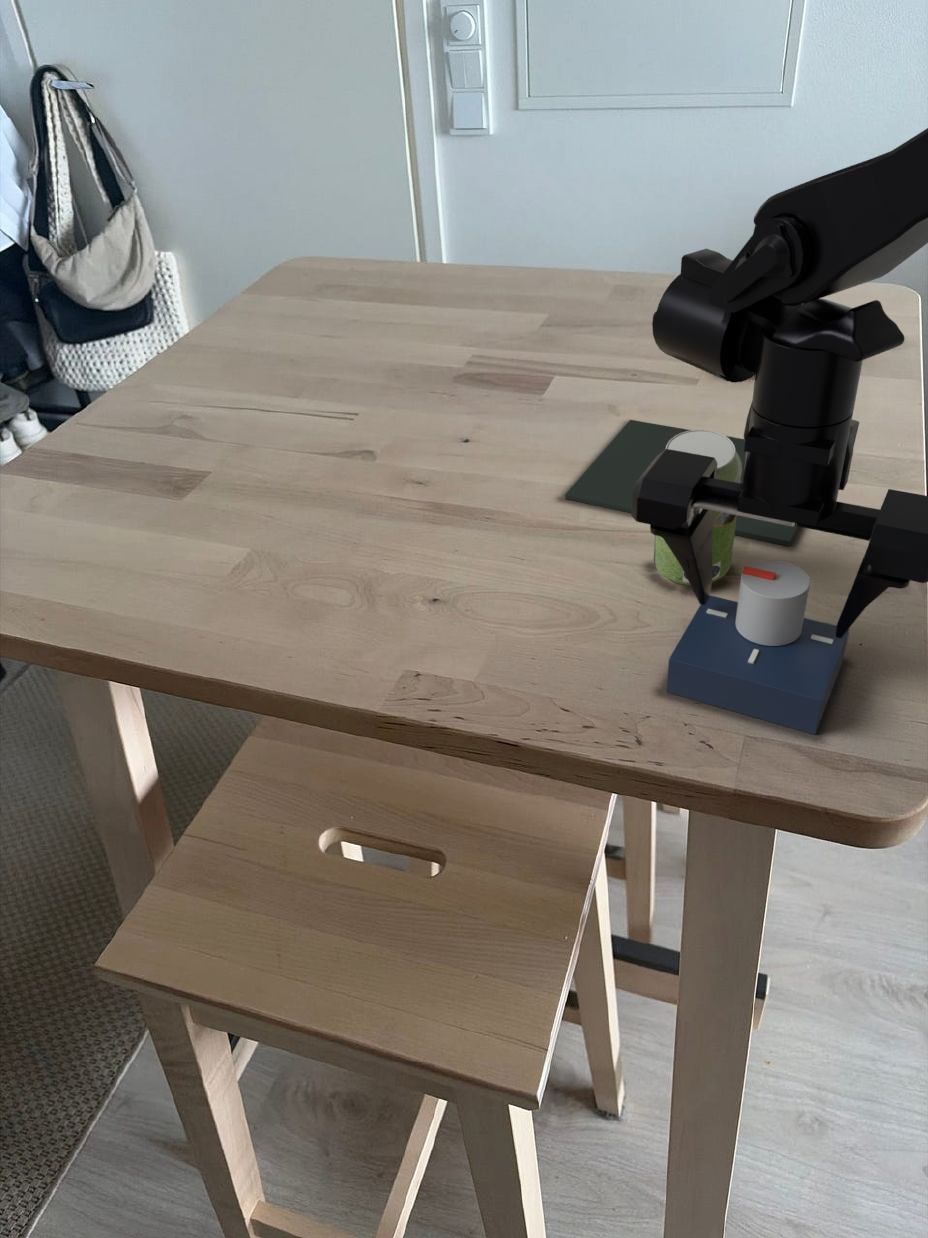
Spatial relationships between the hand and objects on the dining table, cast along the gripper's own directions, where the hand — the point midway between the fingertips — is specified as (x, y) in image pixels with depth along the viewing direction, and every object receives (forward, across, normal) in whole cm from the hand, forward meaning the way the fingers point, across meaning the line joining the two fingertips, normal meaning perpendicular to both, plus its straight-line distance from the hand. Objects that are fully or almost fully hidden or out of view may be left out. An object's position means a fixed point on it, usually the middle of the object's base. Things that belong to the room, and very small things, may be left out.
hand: (770, 617), depth 68 cm
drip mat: (+4, +12, -23) cm, 26 cm away
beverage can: (+4, +8, -8) cm, 12 cm away
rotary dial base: (+4, 0, +1) cm, 4 cm away
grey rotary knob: (+1, 0, 0) cm, 1 cm away
